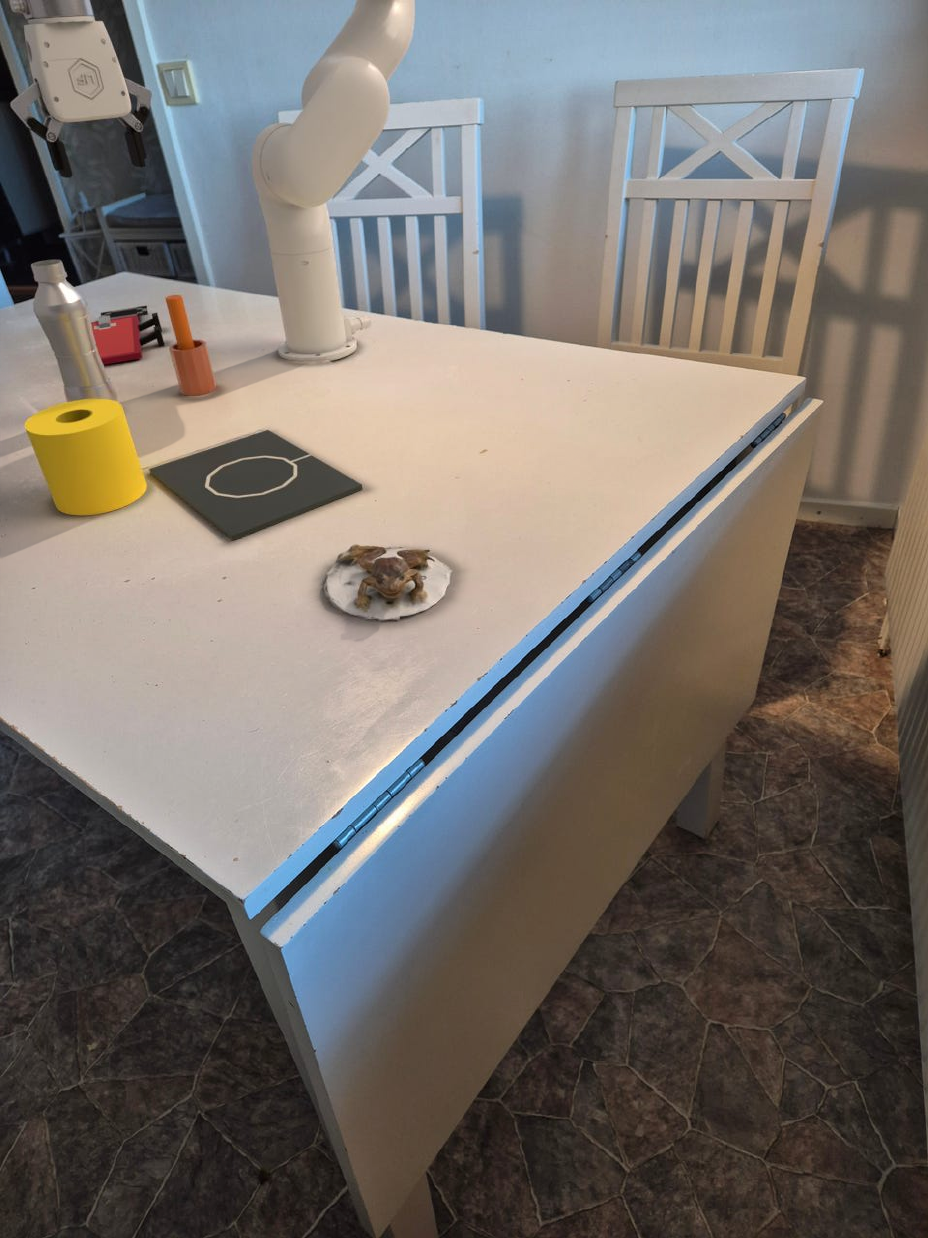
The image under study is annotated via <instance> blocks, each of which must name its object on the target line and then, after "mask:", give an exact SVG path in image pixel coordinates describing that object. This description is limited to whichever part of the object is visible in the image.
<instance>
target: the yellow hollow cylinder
mask: <svg viewBox="0 0 928 1238" xmlns="http://www.w3.org/2000/svg"><path fill="white" fill-rule="evenodd" d="M24 429H25V431H26V434H27V437H28V439H29V441H30V444H31V447H32V450H33V453H34V454H35V457H36V460H37V462H38V465H39V467H40V469H41V473H42V474H43V478H44V479H45V482H46V485H47V487H48V490H49V492H50V495H51V497H52V500H53V503H54V505H55V507H56V509H57V510H58V511H59V512H61V513H63V514H66V515H69V516H70V515H71V516H81V517H82V516H94V515H100V514H101V515H102V514H106V513H109V512H113V511H116V510H119V509H122V508H124V507H126V506H129V505H130V504H132V503H134V502H136V501H137V500H138V499H140V498H141V497H142V496H143V495H144V494H145V493H146V491H147V487H148V485H147V481H146V478H145V475H144V471H143V468H142V465H141V462H140V459H139V455H138V453H137V450H136V447H135V443H134V440H133V437H132V433H131V431H130V427H129V424H128V421H127V417H126V414H125V412H124V408H123V405H122V404H121V403H120V402H119V401H118V402H116V401H113V400H108V399H84V400H77V401H71V402H62V403H59V404H55V405H52V406H49V407H46V408H45V409H42V410H40V411H38V412H36V413H34V414H33V415H31V416H30V417H29V418H28V419H26V420H25V423H24Z"/></svg>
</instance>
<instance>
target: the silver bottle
mask: <svg viewBox="0 0 928 1238" xmlns="http://www.w3.org/2000/svg"><path fill="white" fill-rule="evenodd" d="M30 267H31V271H32V273H33V278H34V281H35V282H37V284H38V287H37V289H36V291H35V295H34V299H33V301H32V302H33V303H32V305H33V313H34V314H35V316H36V319H37V321H38V323H39V325H40V326H41V329H42V331H43V333H44V335H45V336H46V338H47V340H48V343H49V344H50V347H51V350H52V352H53V353H54V354H53V355H54V357H55V359H56V363H57V366H58V369H59V372H60V376H61V377H60V378H61V380H62V385H63V393H64V397H65V401H66V402H71V401H77V400H84V399H108V400H113V401H116V402H118V403H119V398H118V392H117V390H116V387H115V386H114V384H113V382H112V380H111V378H110V377H109V375H108V373H107V370H106V367H105V365H103V363H102V360H101V358H100V356H99V353H98V349H97V346H96V342H95V338H94V335H93V331H92V325H91V322H92V321H91V315H90V310H89V305H88V302H87V300H86V299H85V298H84V295H83V294H81V292H79V290H78V289H76V287H74V286H73V285H72V284H71V283H70V282H69V281H67V279H66V278H67V277H68V274H67V271H66V269H65V267H64V264H63V261H62V260H61V259H47V260H41V261H36V262H33V263H31V264H30ZM66 402H65V403H66Z"/></svg>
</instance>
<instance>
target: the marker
mask: <svg viewBox="0 0 928 1238" xmlns="http://www.w3.org/2000/svg"><path fill="white" fill-rule="evenodd" d="M164 299H165V302H166V306H167V310H168V314H169V318H170V322H171V325H172V329H173V334H174V337H175V341H176V343H177V345H178V349H179V350H188V349H193V348H195V347H194V343H193V340H194V339H193V335H192V331H191V327H190V323H189V319H188V314H187V311H186V308H185V303H184V298H183V296H182V295H181V294H172V295H167V296H165V298H164Z"/></svg>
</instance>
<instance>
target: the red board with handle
mask: <svg viewBox="0 0 928 1238" xmlns="http://www.w3.org/2000/svg"><path fill="white" fill-rule="evenodd" d="M148 315H149V313H148V306H147V305H142V306H141V305H139V306H135V307H128V308H122V309H116V310H115V309H114V310H110V311H103V312H100V316H98V321H97V320H96V321H91V325H92V331H93V335H94V338H95V342H96V346H97V349H98V353H99V356H100V358H101V360H102V363H103V365H104V366H105V365H110V364H115V363H116V364H117V363H122V362H128V361H133V360H139V359H143V353H142V347H143V346H144V345H147V344H149V343H151V342H153V341H155V340H156V341H157V342H156V343H157V345H158V347H159V348H161V347H165V346H166V345H165V341H164V338H163V334H162V332H163V328H162V325H161V322H160V317H159V314H158V312H153V313H151V318H150V319H148V320H145V321H143V322H141V323H140V321H139V317H144V316H148ZM151 327H153V332H151V333H148V334H146V335H144V336H142V337H141V332H143V331H145V330H148V329H149V328H151Z"/></svg>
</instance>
